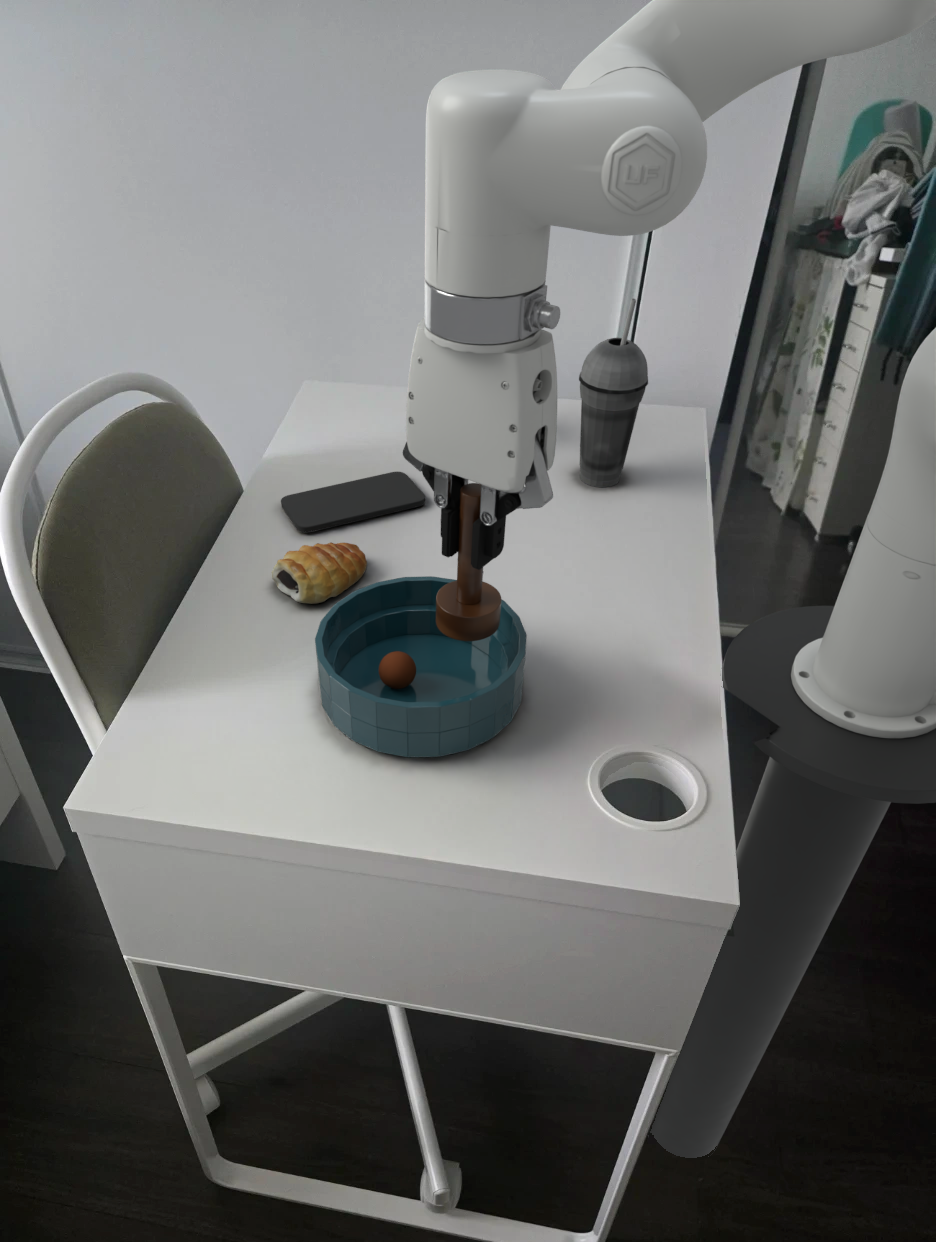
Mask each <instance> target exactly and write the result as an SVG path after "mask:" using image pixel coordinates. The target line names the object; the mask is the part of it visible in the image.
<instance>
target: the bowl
mask: <svg viewBox="0 0 936 1242" xmlns="http://www.w3.org/2000/svg"><path fill="white" fill-rule="evenodd" d="M453 581H457V579H453V578H447V577H439V576H430V575H429V576H425V575H424V576H402V577H397V578H391V579H386V580H381V581H377V582H374V583H371V584H369V585H366V586H363V587H361V588H358V589H356V590H354V591H352V592H350V593H349V594H347V595H346V596H344V597H343V598H342V599H340V600H338V601H337V602H336V603H335V604H333V606H331V608H330V609H329V610H328V611H327V613H325V615H324V616H323V617H322V619H320V620H321V621H320V622H319V625H318V628H317V631H316V635H315V637H314V643H315V645H314V646H315V654H316V655H315V656H316V664H317V672H318V673H317V675H318V683H319V692H320V699H321V706H322V708H323V710H324V712H325V713H326V715H327V717H328V719H330V721H331V723H332V724H333V726H334V727H335V728H336V729H338V731H340V732H341V733H342V734H344V735H345V736H346V737H348V739H350V740H351V741H353V742H355V743H358V744H360V745H362V746H363V747H366V748H369V749H371V750H373V751H375V752H379V753H383V754H387V755H393V756H398V757H404V758H438V757H443V756H444V757H445V756H448V755H452V754H453V755H454V754H458V753H461V752H462V753H463V752H466V751H469V750H472V749H473V748H476V747H478V746H480V745H482V744H484V743H486V742H488V741H490V740H493V739H494V738H495V737H496V736H497V735H498V734H499V733H500V732H501V731H502V730H503V729H505V728H506V727H507V726H508V725H509V724H510V723H511V722H512V721H513V719H514V717H515V715H516V713H517V711H518V710H519V708H520V705H521V704H522V697H523V686H524V675H525V664H526V654H527V636H528V635H527V631H526V629H525V627H524V624H523V622H522V619H521V618H520V616H519V615H518V613H516V611H514V609H513V608H512V607H511V606H510V605H509V604H508V603H507V602H506V601H505V600H504V599H502V598H501V613H500V624H499V627H498V629H497V631H496V632H495V633H494V634H492V635H491V636H489V637H487V638H485V639H482V640H477V641H460V640H456V639H453V638H450V637H448V636H446V635H445V634H443V633H442V632H441V631H440V630H439V629H438V627H437V625H436V596H437V593H438V591H439V590H440V589H441V588H442V587H443V586H444V585H446V584H448V583H450V582H453ZM395 651H400V652H404V653H406V654H408V655H409V656H410V657H411V658H412V659H413V660H414V662H415V665H416V675H415V678H414V680H413V681H412V683H411V684H410V685H408V686H407V687H405V688H402V689H393V688H390V687H388V686H387V685H385V684H384V683H383V682H382V680H381V678H380V676H379V665H380V662H381V660H382V659H383V658H384V657H385V656H386V655H387V654H389V653H391V652H395Z"/></svg>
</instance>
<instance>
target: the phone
mask: <svg viewBox="0 0 936 1242" xmlns="http://www.w3.org/2000/svg"><path fill="white" fill-rule="evenodd" d="M280 503H281V504H280V505H281V508H282V510H283V512H284V513H285V515H286V516H287V517H288V519H289V520H290V522H291V524H292V525H293V526H294V528H295V529H296V530H297V531H298V532H300V533H304V534H305V533H313V532H317V531H321V530H325V529H330V528H334V527H339V526H342V525H347V524H351V523H355V522H360V521H364V520H368V519H369V520H370V519H373V518H377V517H381V516H385V515H389V514H394V513H398V512H403V511H407V510H410V509H415V508H419V507H422V506H424V505H425V503H426V494H425V493H424V492H423V491H422V489H420V488H419V486H418V485H416V483H415V482H414V481H413V480H412V479H411V477H409V475H408V474H407V473H405V472H403V471H390V472H387V473H381V474H377V475H372V476H368V477H364V478H360V479H355V480H350V481H345V482H341V483H336V484H332V485H328V486H327V485H326V486H324V487H319V488H314V489H309V490H305V491H300V492H296V493H291V494H288V495H285V496H283V497H282V498H280Z"/></svg>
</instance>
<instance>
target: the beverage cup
mask: <svg viewBox="0 0 936 1242" xmlns="http://www.w3.org/2000/svg"><path fill="white" fill-rule="evenodd" d="M636 303H637V299H636V298H635V297H634V298H631V299H630V303H629V306H628V310H627V315H626V320H625V323H624V327H623V332H622V336H621V337H611V338H607V339H604V340H602V341H601V342H599V343H598V344H596V345H595V346H594V347H593V348H592V349H591V350H590V351H589V352H588V354H587V355H586V357H585V359H584V361H583V363H582V366H581V371H580V372H579V375H578V381H579V393H580V399H581V403H580V405H581V406H580V407H581V409H580V436H579V437H580V439H579V442H580V443H579V479H580V480H581V482H583V483H584V484H585V485H588V486H591V487H595V488H608V487H609V488H610V487H613V486H615V485H617V484H618V483H619V482H620V478H621V475H622V473H623V472H622V471H623V469H624V466H625V462H626V460H627V459H626V458H627V454H628V450H629V446H630V443H631V438H632V435H633V430H634V426H635V423H636V419H637V414H638V411H639V407H640V404H641V402H642V400H643V398H644V394H645V392H646V388H647V386H648V385H649V376H648V375H649V374H648V373H649V370H648V369H649V368H648V361H647V359H646V356H645V354H644V352H643V351H642V349H641V348H640V347H639V346H638V344H636V343H635V342H634V341H632V340H630V339H628V337H629V332H630V329H631V324H632V320H633V316H634V312H635V307H636Z"/></svg>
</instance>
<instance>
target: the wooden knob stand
mask: <svg viewBox="0 0 936 1242" xmlns="http://www.w3.org/2000/svg"><path fill="white" fill-rule="evenodd" d="M480 502H481V484H479V483H476V482H470V483H469V482H468V484H465V485H464V486H462V487H461V489H460V514H459V540H458V552H457V569H456V571H457V572H456V580H457V581H453V582H450V583H448V584H446V585H444V586H443V587H442V588H441V589H440V590H439V591H438V593H437V596H436V625H437V627H438V629H439V630H440V631H441V632H442V633H443V634H445V635H446V636H448V637H450V638H453V639H456V640H460V641H477V640H482V639H485V638H487V637H489V636H491V635H492V634H494V633H495V632H496V631H497V629H498V627H499V624H500V613H501V599H502V595H501V593H500V591H499V590H498V589H497V588H496V587H495V586H494V585H492V584H490V583H488V582H486V581H483V578H484V576H483V575H484V567H483V568H481V569H480V570H478V569H475V568H473V567H472V565H471V549H472V529H473V523H474V522H475V521H476V520H477V519H479V518H480Z"/></svg>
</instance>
